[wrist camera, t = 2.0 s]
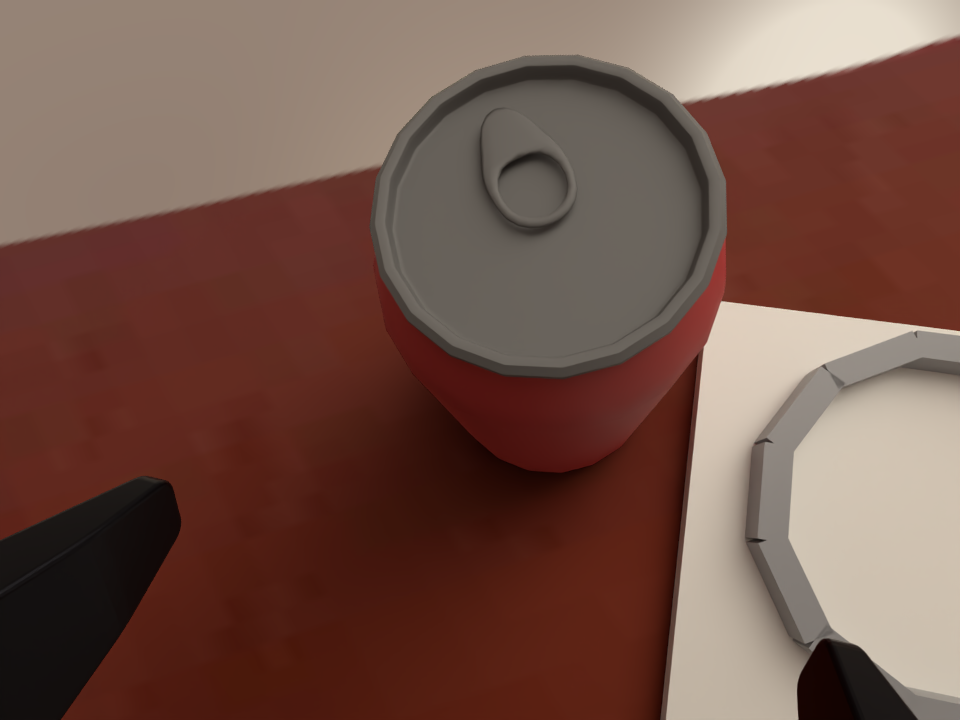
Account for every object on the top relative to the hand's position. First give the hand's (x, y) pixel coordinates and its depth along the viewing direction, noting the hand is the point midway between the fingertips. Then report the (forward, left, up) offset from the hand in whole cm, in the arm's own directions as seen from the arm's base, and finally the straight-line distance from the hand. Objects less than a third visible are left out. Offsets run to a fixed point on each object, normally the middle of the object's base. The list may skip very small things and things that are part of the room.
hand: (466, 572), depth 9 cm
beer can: (+4, -3, -12) cm, 13 cm away
